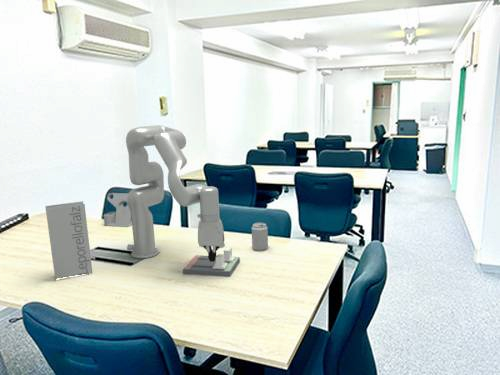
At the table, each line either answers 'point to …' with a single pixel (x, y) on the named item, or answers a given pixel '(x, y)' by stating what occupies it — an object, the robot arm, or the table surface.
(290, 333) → the table surface
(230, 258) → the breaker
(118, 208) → the phone holder
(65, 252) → the brochure
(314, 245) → the table surface
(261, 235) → the can
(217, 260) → the breaker
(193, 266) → the slider switch panel
